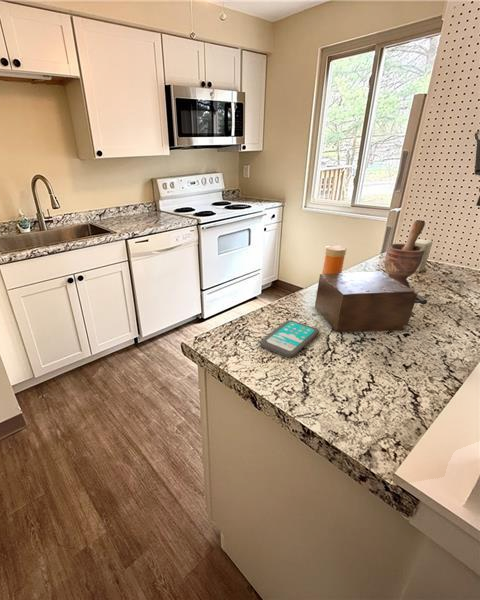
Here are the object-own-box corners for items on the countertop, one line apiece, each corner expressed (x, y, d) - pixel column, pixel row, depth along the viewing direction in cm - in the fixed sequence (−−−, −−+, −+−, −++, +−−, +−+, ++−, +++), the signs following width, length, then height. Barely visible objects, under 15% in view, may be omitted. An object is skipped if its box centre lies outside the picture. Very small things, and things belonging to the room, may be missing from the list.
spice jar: (337, 291, 99) (346, 245, 92) (337, 298, 95) (346, 250, 88) (319, 289, 101) (326, 245, 95) (318, 295, 97) (325, 249, 91)
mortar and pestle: (378, 277, 105) (392, 218, 97) (410, 281, 100) (428, 219, 92) (378, 290, 97) (394, 226, 88) (414, 294, 92) (434, 227, 84)
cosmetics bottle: (410, 265, 112) (418, 238, 107) (425, 268, 108) (434, 240, 104) (403, 269, 109) (410, 241, 105) (417, 272, 106) (426, 243, 102)
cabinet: (372, 305, 89) (380, 271, 84) (403, 330, 76) (415, 291, 72) (314, 307, 91) (319, 274, 86) (335, 332, 78) (343, 294, 74)
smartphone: (257, 341, 76) (288, 318, 84) (257, 345, 76) (287, 321, 85) (292, 355, 70) (321, 329, 78) (291, 359, 70) (320, 332, 78)
